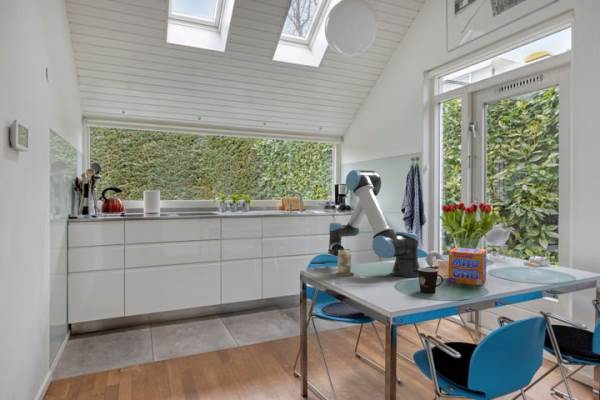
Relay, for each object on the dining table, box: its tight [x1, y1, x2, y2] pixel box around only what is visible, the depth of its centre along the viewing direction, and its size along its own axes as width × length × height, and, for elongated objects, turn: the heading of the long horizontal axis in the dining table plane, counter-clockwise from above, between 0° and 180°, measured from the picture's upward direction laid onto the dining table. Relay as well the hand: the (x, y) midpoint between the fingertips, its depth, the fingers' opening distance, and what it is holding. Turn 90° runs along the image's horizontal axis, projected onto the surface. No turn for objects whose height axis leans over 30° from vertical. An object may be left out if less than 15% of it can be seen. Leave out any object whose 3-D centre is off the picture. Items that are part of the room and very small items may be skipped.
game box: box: [447, 247, 487, 287], centre depth 184 cm, size 16×16×16 cm
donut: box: [425, 250, 443, 268], centre depth 218 cm, size 10×4×10 cm, turn 101°
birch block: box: [337, 249, 352, 272], centre depth 194 cm, size 6×6×12 cm
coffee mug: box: [418, 267, 444, 295], centre depth 162 cm, size 12×9×10 cm
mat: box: [327, 271, 363, 280], centre depth 193 cm, size 16×16×2 cm
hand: (342, 255), depth 197 cm, fingers closed
